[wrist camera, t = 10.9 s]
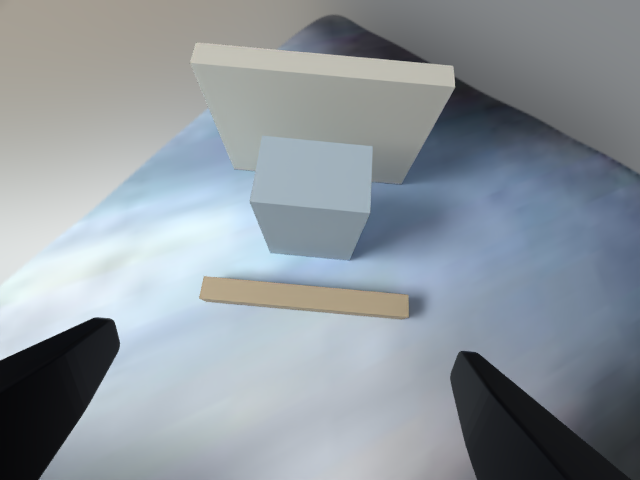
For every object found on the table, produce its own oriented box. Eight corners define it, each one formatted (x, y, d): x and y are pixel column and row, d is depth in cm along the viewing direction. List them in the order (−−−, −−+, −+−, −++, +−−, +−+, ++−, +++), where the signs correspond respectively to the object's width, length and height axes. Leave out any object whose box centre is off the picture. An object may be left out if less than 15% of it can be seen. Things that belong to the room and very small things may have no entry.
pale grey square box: (349, 260, 23) (370, 213, 15) (270, 253, 23) (249, 201, 15) (352, 204, 25) (373, 134, 17) (279, 196, 25) (264, 123, 17)
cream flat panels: (402, 319, 22) (473, 295, 12) (206, 301, 22) (126, 264, 12) (401, 169, 26) (453, 66, 16) (237, 154, 26) (196, 42, 16)
